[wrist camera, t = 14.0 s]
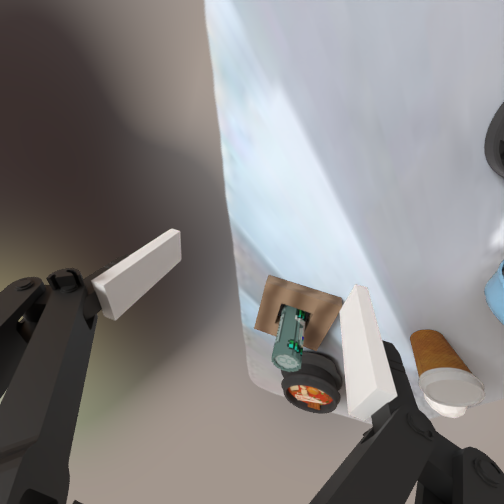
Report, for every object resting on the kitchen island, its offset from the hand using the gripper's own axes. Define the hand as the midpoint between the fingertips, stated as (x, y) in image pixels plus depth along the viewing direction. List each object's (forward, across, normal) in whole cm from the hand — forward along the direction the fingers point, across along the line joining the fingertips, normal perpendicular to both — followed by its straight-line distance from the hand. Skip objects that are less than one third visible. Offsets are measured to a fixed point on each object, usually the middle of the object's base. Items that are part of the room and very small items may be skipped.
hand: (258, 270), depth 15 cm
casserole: (+29, +20, -56) cm, 66 cm away
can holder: (+29, +8, -32) cm, 44 cm away
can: (+29, +8, -32) cm, 44 cm away
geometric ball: (+29, +48, -40) cm, 69 cm away
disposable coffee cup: (+29, +38, -27) cm, 55 cm away
